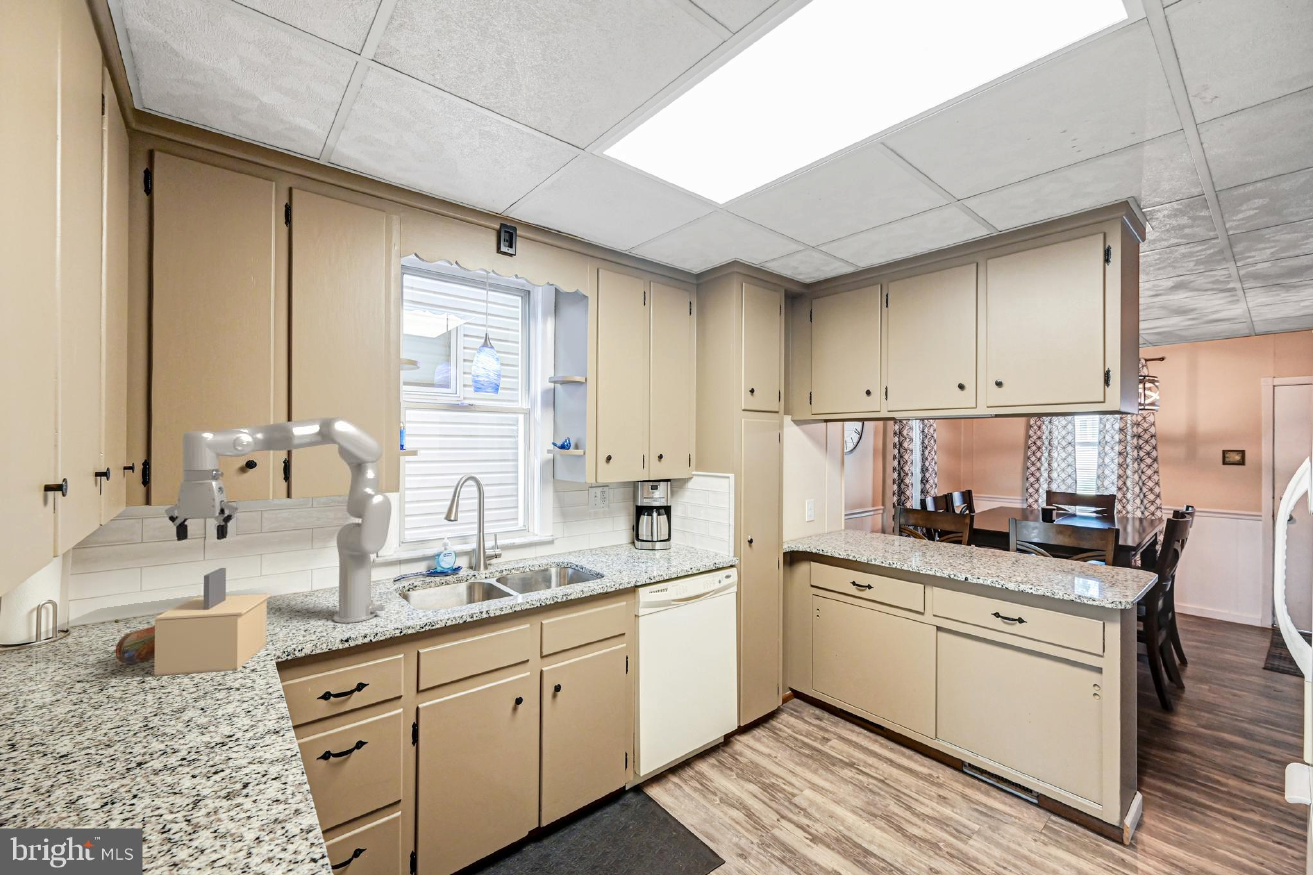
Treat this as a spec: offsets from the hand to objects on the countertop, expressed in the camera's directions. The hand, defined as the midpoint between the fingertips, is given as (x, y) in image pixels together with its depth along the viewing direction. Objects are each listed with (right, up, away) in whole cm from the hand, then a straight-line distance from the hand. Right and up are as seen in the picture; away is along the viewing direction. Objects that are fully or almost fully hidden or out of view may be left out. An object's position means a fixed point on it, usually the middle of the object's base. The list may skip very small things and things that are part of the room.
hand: (202, 539), depth 154 cm
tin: (-15, -33, +1) cm, 36 cm away
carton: (+4, -32, -1) cm, 33 cm away
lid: (+4, -18, -1) cm, 19 cm away
